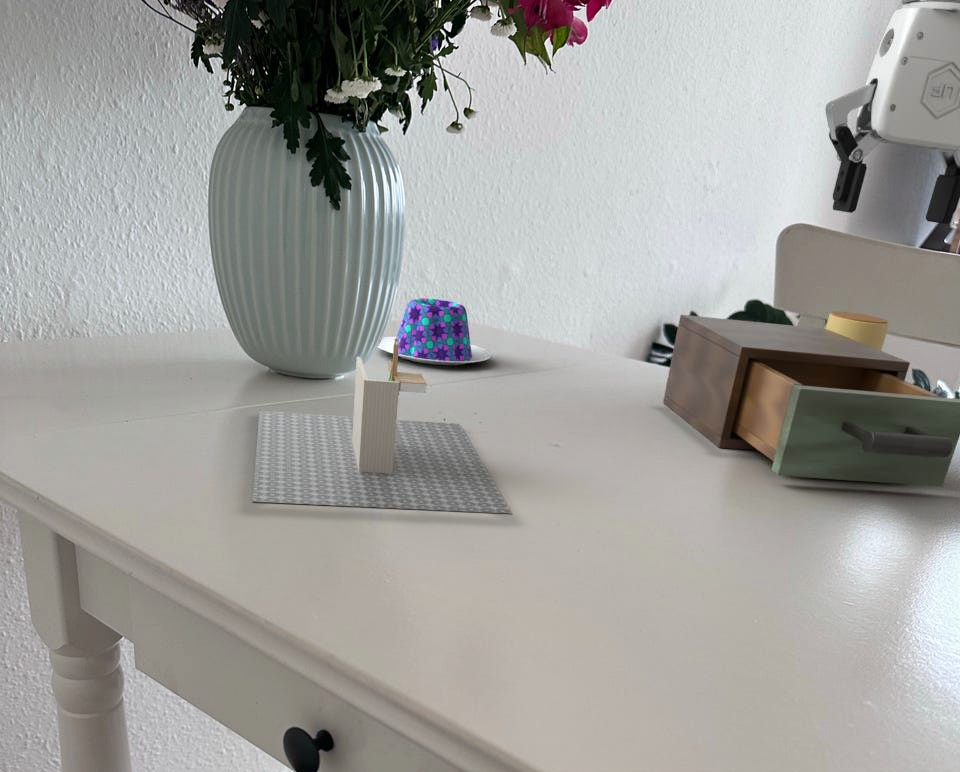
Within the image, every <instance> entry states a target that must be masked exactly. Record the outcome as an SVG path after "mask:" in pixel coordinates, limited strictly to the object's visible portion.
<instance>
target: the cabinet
mask: <svg viewBox="0 0 960 772" xmlns="http://www.w3.org/2000/svg"><path fill="white" fill-rule="evenodd" d="M749 358H756V359H767V360H778V361H789V362H800V363H811V364H822V365H833V366H844V367H855V368H866V369H877V370H881V371H883V372H886V373H888V374H890V375H893V376H895V377H897V378H899V379H902V380H904V381H906V378H907V374H908V373H907V372H908V371H909V368H910V365H911V362H910V361H907V360H905V359H902V358H900V357H898V356H895V355H893V354H890V353H888V352H885V351H883V350H881V351H880V350H878V349H875V348H873V347H870V346H868V345H865V344H863V343H860V342H858V341H855V340H853V339H850V338H848V337H845V336H843V335H840V334H838V333H835V332H833V331H830V330H828V329H826V328H820V327H810V326H800V325H792V324H791V325H789V324H779V323H770V322H769V323H768V322H759V321H750V320H739V319H731V318H719V317H708V316H700V315H699V316H698V315H688V314H680V316H679V321H678V326H677V331H676V335H675V339H674V346H673V349H672V355H671V360H670V365H669V369H668V375H667V381H666V384H665V391H664V396H663V399H662V403H663V404H664V405H665V406H667V408H669V409H670V410H671V411H673V412H674V413H675V414H676V415H678V416H679V417H680V418H681V419H683V420H684V421H685V422H687V424H689V425H690V426H691V427H692V428H693V429H695V430H696V431H698V432H699V433H700V435H702V436H704V437H705V438H706V439H707V440H709V441H710V442H711V443H712V444H714V445H715V446H716V447H717V448H718V449H731V450H744V451H745V450H746V451H759V450H757V449H756V448H755V447H753V446H752V445H751V444H749V443H748V442H747V441H745V440H744V439H743V438H741V437H740V436H738V435H737V434H736V433H734V432H733V431H732V427H733V423H734V419H735V414H736V410H737V406H738V402H739V398H740V393H741V389H742V385H743V381H744V376H745V372H746V368H747V364H748V359H749ZM759 452H760V451H759Z"/></svg>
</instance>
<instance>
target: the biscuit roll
mask: <svg viewBox="0 0 960 772" xmlns="http://www.w3.org/2000/svg"><path fill="white" fill-rule="evenodd" d="M889 326H890V322H889V321H888V320H887V319H885V318H882V317H878V316H873V315H869V314H863V313H857V312H849V311H832V312H831V313H829V315H828V319H827V322H826V326H825V329H828V330H830V331H833V332H835V333H838V334H840V335H843V336H845V337H848V338H850V339H853V340H855V341H858V342H860V343H863V344H865V345H868V346H870V347H873V348H875V349H878V350H880V351H883V347H884V344H885V340H886V336H887V333H888V330H889Z"/></svg>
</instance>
